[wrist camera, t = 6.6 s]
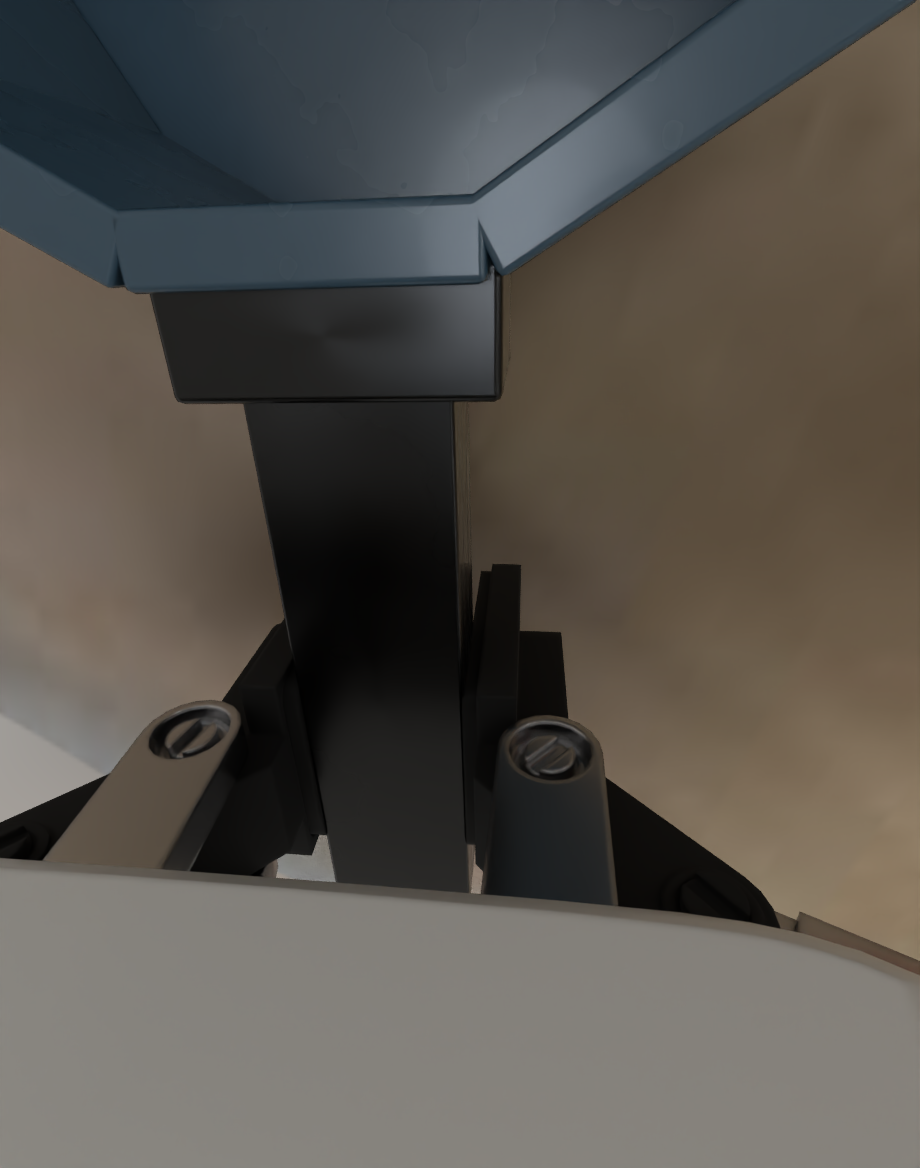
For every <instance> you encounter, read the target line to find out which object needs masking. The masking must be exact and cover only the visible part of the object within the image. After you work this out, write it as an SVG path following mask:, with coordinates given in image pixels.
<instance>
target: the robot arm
mask: <svg viewBox="0 0 920 1168" xmlns="http://www.w3.org/2000/svg"><path fill="white" fill-rule="evenodd" d="M520 591H521V565H515V564H493V565H492V571H481V576H480V582H479V588H478V595H477V601H476V607H475V613H474V620H473V632H472V639H471V645H470V651H469V658H468V664H467V671H466V677H465V684H464V694H463V697H462V733H463V762H464V790H465V819H466V843H467V845H475V856H476V865H477V866H478V867H479V868H480V869H481V870H482V871H483V879H482V888H481V894H472V893H460V892H448V891H436V890H423V889H411V888H399V887H387V886H374V885H362V884H349V883H335V882H322V881H309V880H296V879H283V878H276V874H277V869H278V862H277V859H278V858H280V857H281V856H283V855H285V854H300V855H312V853H313V850H314V848H315V845H316V842H317V839H318V837H319V835H327V833H326V828H325V823H324V818H323V813H322V807H321V802H320V797H319V792H318V787H317V781H316V776H315V771H314V766H313V761H312V756H311V750H310V745H309V740H308V735H307V730H306V725H305V719H304V714H303V709H302V704H301V699H300V694H299V688H298V683H297V678H296V673H295V668H294V663H293V657H292V652H291V647H290V642H289V637H288V632H287V626H286V621H285V618H284V620H283V621H282V623H281V624H277V625H276V626H275V627H274V628H273V629H272V630H271V631H270V633H269V634H268V636H267V637H266V638H265V640H264V641H263V643H262V644H261V646H260V647H259V648H258V650H257V651H256V653H255V654H254V656H253V657H252V658H251V660H250V661H249V663H248V664H247V666H246V667H245V668H244V670H243V671H242V673H241V674H240V676H239V677H238V679H237V680H236V681H235V683H234V684H233V686H232V687H231V689H230V690H229V691H228V693H227V694H226V696H225V697H224V699H223V700H222V701H215V700H205V701H195V702H192V703H188V704H184V705H180V706H178V707H176V708H174V709H171V710H169V711H167V712H165V713H164V714H162V715H160V716H159V717H157V718H156V719H154V720H153V721H152V722H151V723H150V724H149V725H148V726H147V727H146V728H145V729H144V730H143V731H142V733H141V734H140V735H139V736H138V738H137V739H136V740H135V742H134V743H133V744H132V745H131V747H130V748H129V749H128V751H127V752H126V753H125V755H124V756H123V757H122V758H121V760H120V761H119V762H118V764H117V765H116V766H115V767H114V769H113V770H112V771H111V773H110V774H108V775H106V776H103V777H101V778H99V779H97V780H94V781H92V782H90V783H88V784H85V785H83V786H81V787H79V788H76V789H74V790H72V791H70V792H68V793H65V794H63V795H61V796H59V797H56V798H54V799H52V800H50V801H47V802H45V803H43V804H41V805H39V806H36V807H34V808H32V809H30V810H27V811H25V812H23V813H21V814H18V815H16V816H14V817H12V818H9V819H7V820H5V821H3V822H1V823H0V1168H920V961H918V960H916V959H914V958H911V957H909V956H906V955H904V954H901V953H899V952H897V951H894V950H892V949H889V948H887V947H884V946H882V945H880V944H877V943H875V942H872V941H870V940H868V939H865V938H863V937H860V936H858V935H855V934H853V933H851V932H848V931H846V930H843V929H841V928H839V927H836V926H834V925H831V924H829V923H826V922H824V921H822V920H819V919H817V918H814V917H812V916H810V915H807V914H805V913H802V912H799V915H798V917H797V920H795V919H792V918H790V917H787V916H785V915H783V914H780V913H778V912H776V911H774V909H773V908H772V906H771V905H770V904H769V902H768V901H767V899H766V898H765V897H764V895H763V894H762V892H761V891H760V890H759V889H758V888H756V887H755V886H754V885H753V884H752V883H751V882H750V881H749V880H747V879H746V878H745V877H744V876H743V875H741V874H740V873H738V872H737V871H736V870H734V869H733V868H731V867H730V866H729V865H727V864H726V863H724V862H723V861H722V860H720V859H719V858H717V857H716V856H715V855H713V854H712V853H711V852H709V851H708V850H706V849H705V848H704V847H702V846H701V845H699V844H698V843H697V842H695V841H694V840H692V839H691V838H690V837H688V836H687V835H685V834H684V833H683V832H681V831H680V830H678V829H677V828H676V827H674V826H673V825H671V824H670V823H669V822H667V821H666V820H664V819H663V818H662V817H660V816H659V815H657V814H656V813H655V812H653V811H652V810H650V809H649V808H648V807H646V806H645V805H644V804H642V803H641V802H639V801H638V800H637V799H635V798H634V797H632V796H631V795H630V794H628V793H627V792H625V791H624V790H623V789H621V788H620V787H618V786H617V785H616V784H614V783H613V782H611V781H610V780H609V779H607V778H606V777H605V769H604V759H603V752H602V749H601V746H600V743H599V741H598V740H597V738H596V737H595V736H594V735H593V733H592V732H591V731H589V730H588V729H587V728H585V727H584V726H582V725H581V724H580V723H577V722H575V721H572V720H570V719H568V710H567V697H566V685H565V673H564V661H563V648H562V637H561V632H539V631H520Z"/></svg>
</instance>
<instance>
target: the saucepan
mask: <svg viewBox="0 0 920 1168" xmlns="http://www.w3.org/2000/svg"><path fill="white" fill-rule="evenodd" d="M915 1H916V0H0V228H2V229H3V230H5V231H7V232H9V233H11V234H12V235H14V236H16V237H18V238H20V239H21V240H23V241H25V242H27V243H29V244H30V245H32V246H34V247H36V248H38V249H39V250H41V251H43V252H45V253H47V254H48V255H50V256H52V257H54V258H56V259H57V260H59V261H61V262H63V263H65V264H66V265H68V266H70V267H72V268H74V269H75V270H77V271H79V272H81V273H83V274H84V275H86V276H88V277H90V278H92V279H93V280H95V281H97V282H99V283H101V284H102V285H104V286H106V287H108V288H120V287H126V289H127V290H128V291H130V292H133V293H135V294H150V297H151V301H152V305H153V309H154V313H155V318H156V322H157V326H158V330H159V334H160V338H161V342H162V346H163V350H164V354H165V358H166V362H167V367H168V371H169V375H170V379H171V383H172V387H173V391H174V395H175V398H176V399H177V401H178V402H181V403H184V404H244V409H245V414H246V420H247V425H248V430H249V435H250V440H251V445H252V451H253V456H254V461H255V466H256V471H257V476H258V482H259V487H260V492H261V497H262V502H263V507H264V513H265V518H266V523H267V528H268V533H269V538H270V544H271V549H272V554H273V559H274V564H275V570H276V575H277V580H278V585H279V590H280V595H281V601H282V606H283V611H284V616H285V621H286V626H287V632H288V637H289V642H290V647H291V652H292V657H293V663H294V668H295V673H296V678H297V683H298V688H299V694H300V699H301V704H302V709H303V714H304V719H305V725H306V730H307V735H308V740H309V745H310V750H311V756H312V761H313V766H314V771H315V776H316V781H317V787H318V792H319V797H320V802H321V807H322V813H323V818H324V823H325V828H326V833H327V838H328V844H329V849H330V854H331V859H332V864H333V869H334V875H335V880H336V883H349V884H362V885H374V886H387V887H399V888H411V889H423V890H436V891H448V892H460V893H471V884H472V873H473V863H474V852H475V845H467V843H466V819H465V790H464V762H463V733H462V697H463V694H464V684H465V677H466V671H467V664H468V658H469V651H470V645H471V639H472V632H473V604H472V556H471V508H470V461H469V413H468V402H495V401H497V400H499V399H500V398H501V396H502V394H503V390H504V385H505V380H506V375H507V370H508V365H509V360H510V318H511V273H512V272H514V271H515V270H517V269H518V268H520V267H521V266H523V265H524V264H526V263H527V262H529V261H530V260H532V259H533V258H535V257H536V256H538V255H539V254H541V253H542V252H544V251H545V250H547V249H548V248H550V247H551V246H553V245H554V244H556V243H557V242H559V241H560V240H562V239H563V238H565V237H566V236H568V235H569V234H571V233H572V232H573V231H575V230H576V229H578V228H579V227H581V226H582V225H584V224H585V223H587V222H588V221H590V220H591V219H593V218H594V217H596V216H597V215H599V214H600V213H602V212H603V211H605V210H606V209H608V208H609V207H611V206H612V205H614V204H615V203H617V202H618V201H620V200H621V199H623V198H624V197H626V196H627V195H629V194H630V193H632V192H633V191H635V190H636V189H638V188H639V187H641V186H642V185H643V184H645V183H646V182H648V181H649V180H651V179H652V178H654V177H655V176H657V175H658V174H660V173H661V172H663V171H664V170H666V169H667V168H669V167H670V166H672V165H673V164H675V163H676V162H678V161H679V160H681V159H682V158H684V157H685V156H687V155H688V154H690V153H691V152H693V151H694V150H696V149H697V148H699V147H700V146H702V145H703V144H705V143H706V142H708V141H709V140H711V139H712V138H713V137H715V136H716V135H718V134H719V133H721V132H722V131H724V130H725V129H727V128H728V127H730V126H731V125H733V124H734V123H736V122H737V121H739V120H740V119H742V118H743V117H745V116H746V115H748V114H749V113H751V112H752V111H754V110H755V109H757V108H758V107H760V106H761V105H763V104H764V103H766V102H767V101H769V100H770V99H772V98H773V97H775V96H776V95H778V94H779V93H781V92H782V91H783V90H785V89H786V88H788V87H789V86H791V85H792V84H794V83H795V82H797V81H798V80H800V79H801V78H803V77H804V76H806V75H807V74H809V73H810V72H812V71H813V70H815V69H816V68H818V67H819V66H821V65H822V64H824V63H825V62H827V61H828V60H830V59H831V58H833V57H834V56H836V55H837V54H839V53H840V52H842V51H843V50H845V49H846V48H848V47H849V46H851V45H852V44H853V43H855V42H856V41H858V40H859V39H861V38H862V37H864V36H865V35H867V34H868V33H870V32H871V31H873V30H874V29H876V28H877V27H879V26H880V25H882V24H883V23H885V22H886V21H888V20H889V19H891V18H892V17H894V16H895V15H897V14H898V13H900V12H901V11H903V10H904V9H906V8H907V7H909V6H910V5H912V4H913V3H915Z"/></svg>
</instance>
